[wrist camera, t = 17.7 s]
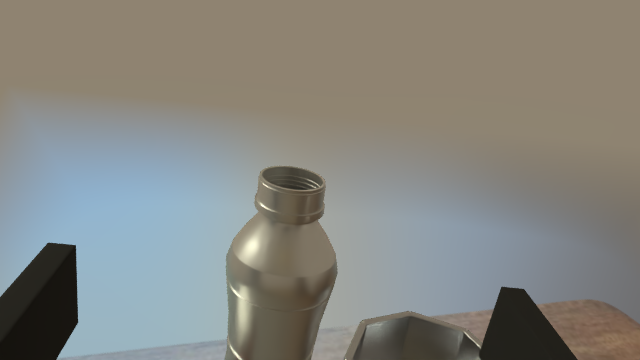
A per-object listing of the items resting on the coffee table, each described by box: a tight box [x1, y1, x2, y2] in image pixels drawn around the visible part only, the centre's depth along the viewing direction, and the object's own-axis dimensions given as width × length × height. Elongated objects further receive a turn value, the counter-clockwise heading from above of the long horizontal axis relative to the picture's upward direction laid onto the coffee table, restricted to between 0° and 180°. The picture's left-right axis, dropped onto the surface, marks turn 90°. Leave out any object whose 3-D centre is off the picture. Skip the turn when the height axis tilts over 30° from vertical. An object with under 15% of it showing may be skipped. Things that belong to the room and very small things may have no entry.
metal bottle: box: [225, 166, 337, 360], centre depth 31 cm, size 6×7×20 cm
